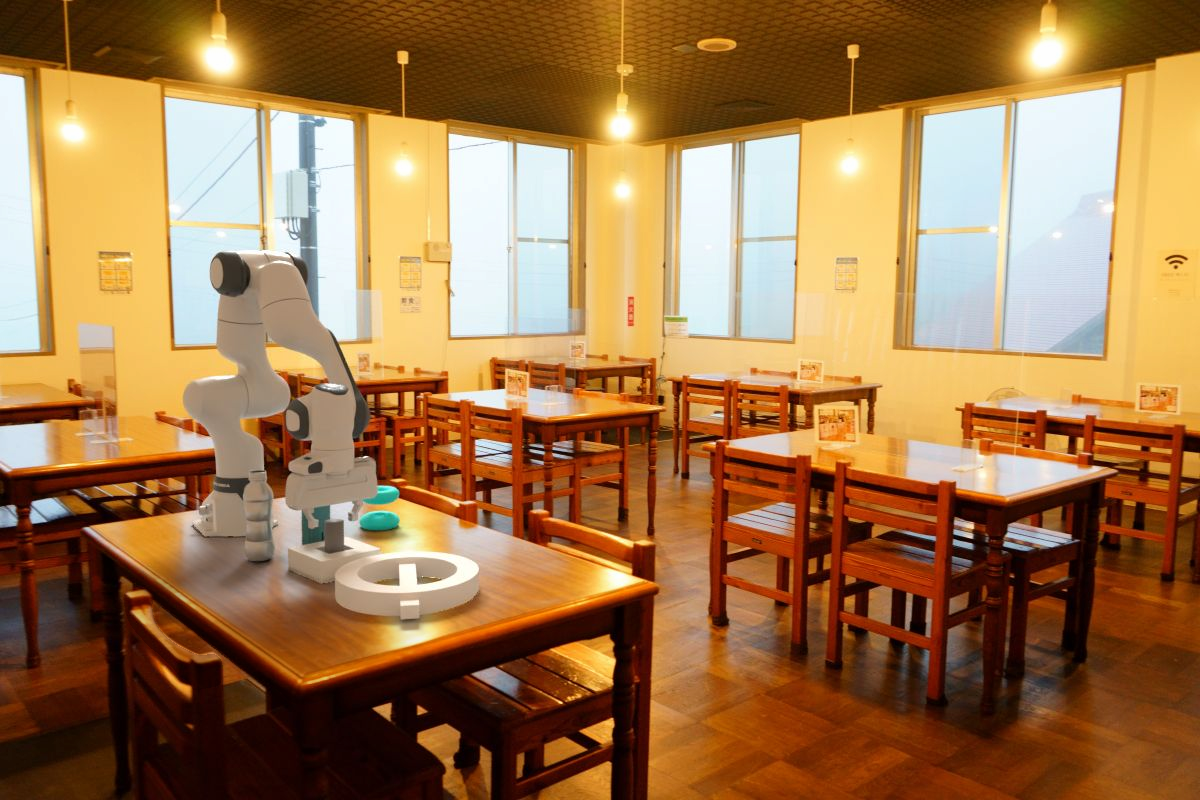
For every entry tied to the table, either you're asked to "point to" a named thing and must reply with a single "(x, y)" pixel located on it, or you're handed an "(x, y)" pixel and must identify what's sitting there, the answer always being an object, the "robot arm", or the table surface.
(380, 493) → the donuts
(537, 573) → the table surface
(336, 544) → the grey rectangular block
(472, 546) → the table surface
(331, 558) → the stand
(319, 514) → the beverage bottle
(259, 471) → the plastic bottle
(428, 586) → the white circle with bar
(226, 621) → the table surface
